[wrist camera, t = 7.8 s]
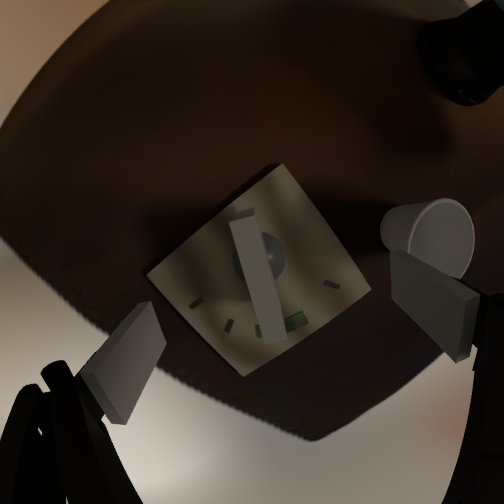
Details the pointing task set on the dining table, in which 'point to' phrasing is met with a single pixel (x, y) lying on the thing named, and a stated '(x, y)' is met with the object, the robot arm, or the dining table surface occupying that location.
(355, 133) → the dining table surface
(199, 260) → the board
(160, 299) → the dining table surface
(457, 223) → the cup
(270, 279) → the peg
